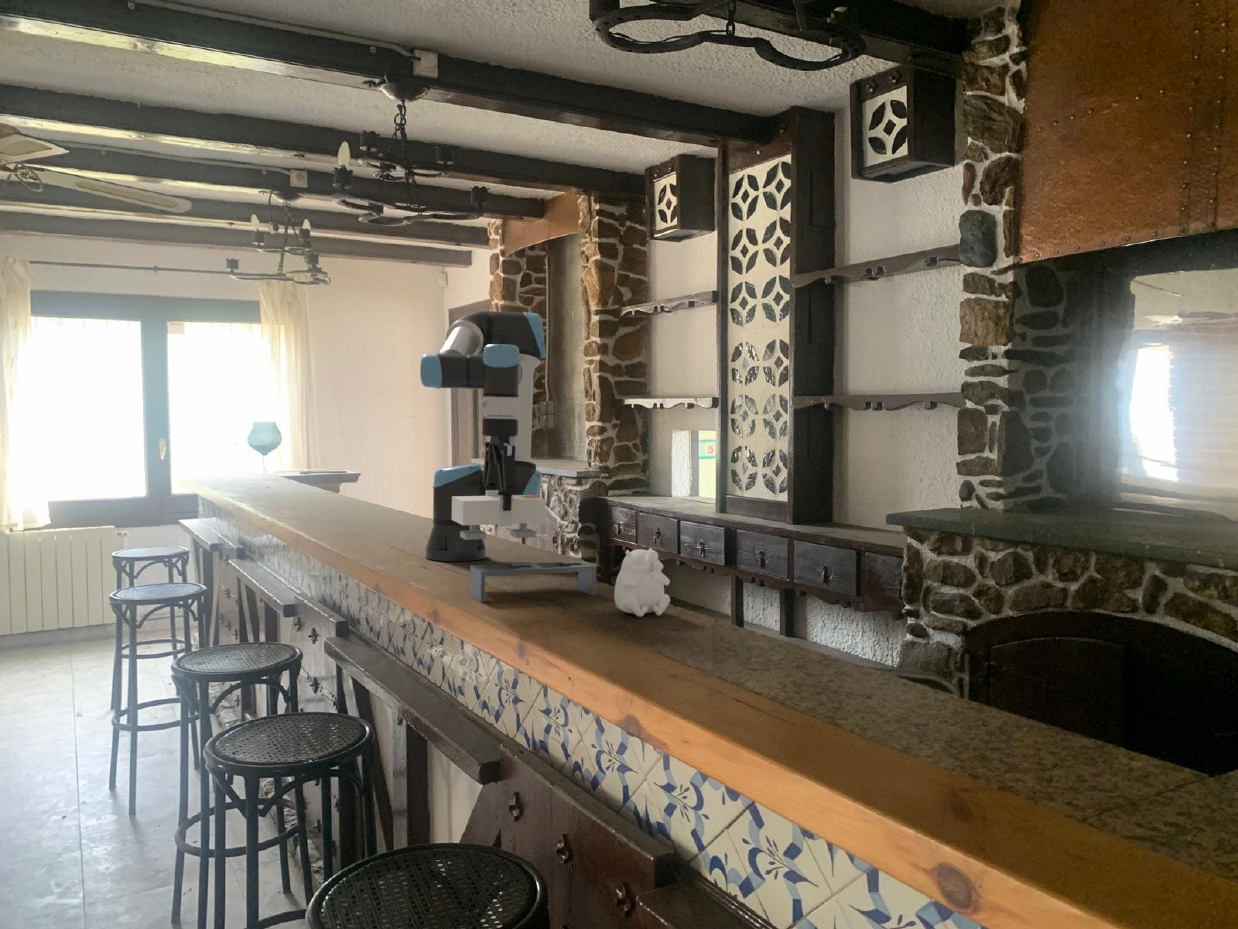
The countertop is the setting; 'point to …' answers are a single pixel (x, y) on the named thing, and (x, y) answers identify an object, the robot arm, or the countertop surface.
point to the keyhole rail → (583, 568)
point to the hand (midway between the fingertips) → (498, 522)
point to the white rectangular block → (497, 514)
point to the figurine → (641, 584)
